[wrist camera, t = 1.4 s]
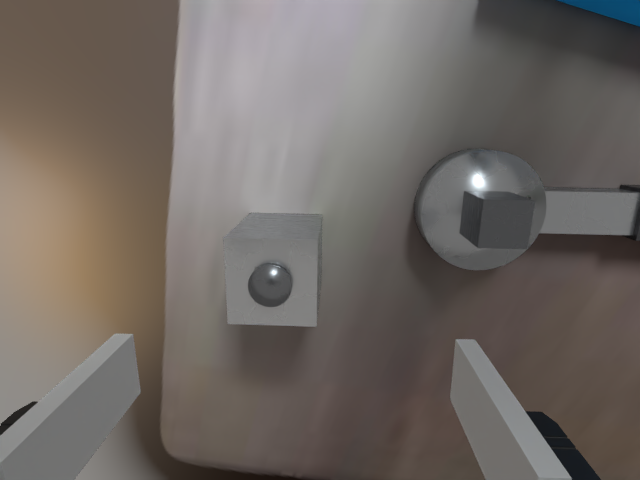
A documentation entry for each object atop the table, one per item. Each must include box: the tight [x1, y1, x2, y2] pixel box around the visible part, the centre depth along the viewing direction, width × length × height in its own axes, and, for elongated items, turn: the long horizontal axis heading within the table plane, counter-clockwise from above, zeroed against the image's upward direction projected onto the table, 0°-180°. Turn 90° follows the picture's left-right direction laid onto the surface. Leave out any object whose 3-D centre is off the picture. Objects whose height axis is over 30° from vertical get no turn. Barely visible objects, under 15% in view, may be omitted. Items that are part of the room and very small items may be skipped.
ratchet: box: [414, 149, 640, 270], centre depth 28 cm, size 9×24×7 cm, turn 89°
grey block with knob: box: [223, 213, 322, 327], centre depth 29 cm, size 6×6×9 cm
